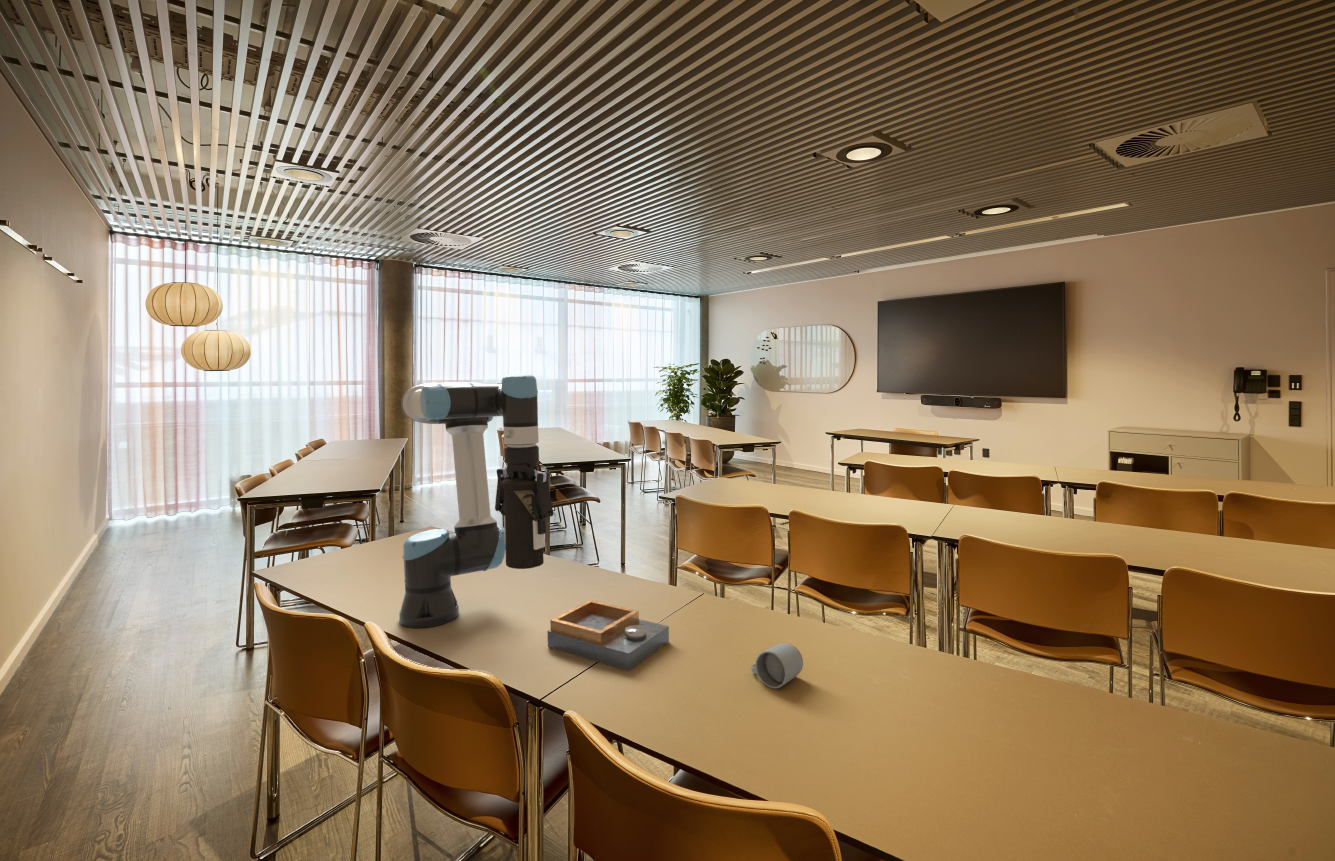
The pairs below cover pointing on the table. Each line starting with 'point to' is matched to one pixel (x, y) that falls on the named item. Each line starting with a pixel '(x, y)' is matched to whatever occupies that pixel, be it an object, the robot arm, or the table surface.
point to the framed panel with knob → (607, 634)
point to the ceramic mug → (778, 665)
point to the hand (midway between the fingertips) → (524, 545)
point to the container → (520, 524)
